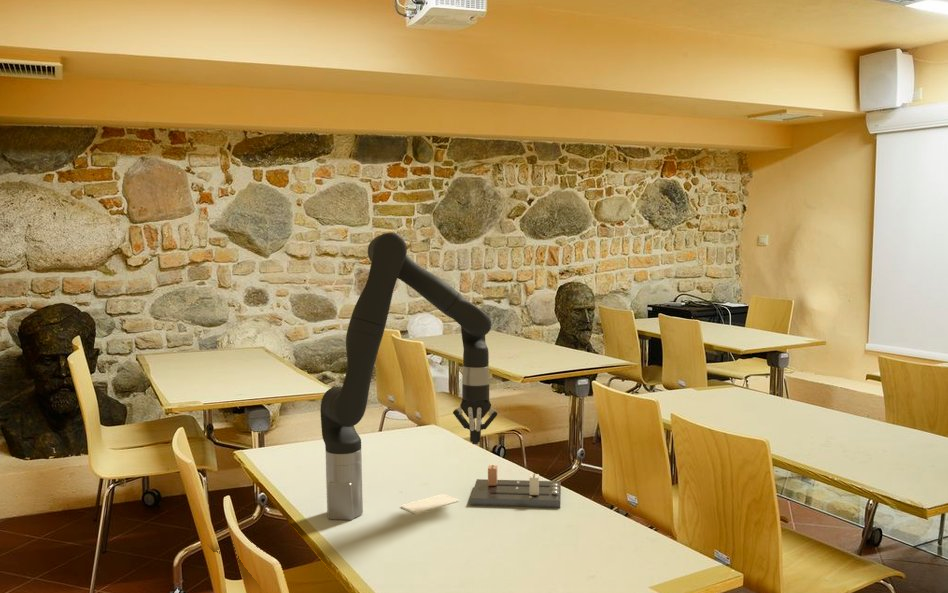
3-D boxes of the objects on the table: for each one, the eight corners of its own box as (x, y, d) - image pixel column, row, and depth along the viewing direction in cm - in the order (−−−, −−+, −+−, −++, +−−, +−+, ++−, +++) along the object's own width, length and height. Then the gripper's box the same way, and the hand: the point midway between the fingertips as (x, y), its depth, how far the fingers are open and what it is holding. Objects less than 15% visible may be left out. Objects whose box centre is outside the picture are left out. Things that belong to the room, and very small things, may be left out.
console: (560, 507, 213) (560, 497, 213) (470, 505, 216) (470, 495, 216) (560, 488, 229) (560, 478, 229) (476, 486, 232) (476, 476, 232)
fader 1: (496, 485, 225) (496, 468, 225) (488, 485, 225) (487, 467, 225) (497, 482, 228) (497, 464, 228) (489, 481, 228) (488, 464, 228)
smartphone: (460, 500, 220) (415, 512, 210) (460, 502, 220) (415, 515, 210) (443, 493, 225) (399, 505, 216) (443, 496, 225) (399, 508, 216)
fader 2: (538, 495, 217) (538, 477, 216) (529, 494, 217) (529, 476, 217) (538, 491, 220) (538, 473, 219) (530, 491, 220) (529, 473, 220)
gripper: (449, 383, 220) (449, 446, 221) (498, 385, 218) (497, 448, 219) (454, 378, 227) (454, 439, 228) (501, 380, 225) (500, 441, 227)
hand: (475, 443), depth 224 cm, fingers closed
